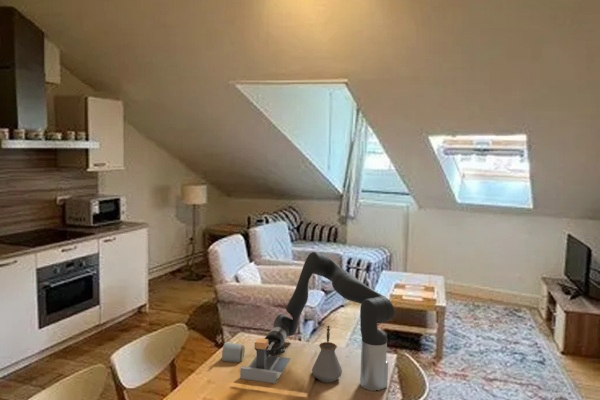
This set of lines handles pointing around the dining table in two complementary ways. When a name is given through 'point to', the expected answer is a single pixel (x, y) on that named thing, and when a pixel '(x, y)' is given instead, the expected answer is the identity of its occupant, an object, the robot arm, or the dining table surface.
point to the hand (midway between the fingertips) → (262, 356)
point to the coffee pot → (327, 362)
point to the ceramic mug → (233, 352)
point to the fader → (261, 353)
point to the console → (265, 370)
